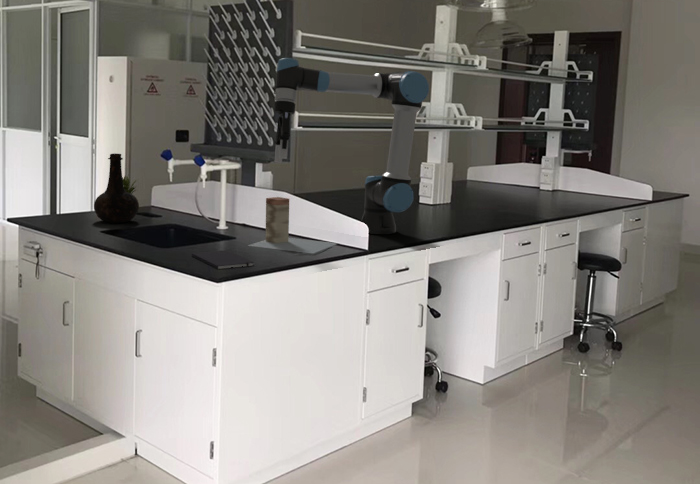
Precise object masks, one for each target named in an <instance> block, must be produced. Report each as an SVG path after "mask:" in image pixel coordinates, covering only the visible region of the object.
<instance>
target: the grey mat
mask: <svg viewBox="0 0 700 484" xmlns="http://www.w3.org/2000/svg"><path fill="white" fill-rule="evenodd" d="M336 245H338V244H337V242H330V241H329V242H328V241H321V240H314V239H313V240H312V239H303V238H294V237H289V238H288V242H283V243H272V242H268V241H265V239H264V240H261V241H257V242H254V243H251V244H248V245H247V247H248V246H249V247H255V248H265V249H270V250H271V249H273V250H279V251H280V250H281V251H289V252H297V253H299V255H300V254H301V255H309V256H310V255H311V256H315V255H317V254H320V253H322V252H325V251H327V250H330V249H332V248H333V246H336Z"/></svg>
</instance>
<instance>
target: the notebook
mask: <svg viewBox="0 0 700 484" xmlns="http://www.w3.org/2000/svg"><path fill="white" fill-rule="evenodd" d="M191 257H192V258H195V259H196V260H198V261H201V262H203V263H204V264H207V265H209V266H211V267H212V268H215V269H217V270H221V269H222V270H223V269H230V268H231V267H233V268H241V267H242V266H243V267H250V266H251V267H252V266H254V261H252V260H250V259H248V258H246V257H243V256H241V255H238V254H236V253H234V252H232V251H229V250H218V251H217V250H216V251H215V250H214V251H204V252H202V251H201V252H194V253H193V252H192V253H191Z"/></svg>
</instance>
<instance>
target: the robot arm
mask: <svg viewBox="0 0 700 484" xmlns="http://www.w3.org/2000/svg"><path fill="white" fill-rule="evenodd" d="M299 65H300V64H299V61H298V60H297V59H295V58H292V57H283V58H280V59H278V61H277V67H276V80H275V91H274V92H273V95H274V100H275V101H274V103H273V104H274V105H273V106H274V107H273V112H274V113H275V114H278V115H279V117H277V126H276V127H277V128H276V134H275V141H274V143H275V151H274V152H275V153H274V163H276V164H282V163H283V160H284V159H285V160H288V151H289V150H288V149H289V140H290V128H291V127H290V126H291V125H290V124H291V123H290V122H291V121H290V120H291V118H290V117H291V115H295V112H296V101H297V92H298V91H309V92H321V93H326V92H327V93H340V94H353V95H355V94H357V95H369V96H372V97H373V98H375V99H384V100H389V101H391V107H392V108H393V110H394V113H393V121H392V126H391V133H390V134H391V135H390V141H389V149H388V150H389V151H388V156H387V164H386V171H385V172H384V173H382V175H368V176H366V178H365V182H364V206H363V207H364V209H363V210H364V211H363V214H362V217H361V220H360V222H364V223H365V224H367V225H368V227H369V230H370V234H371V235H393V234H395V233H396V232H397V226H396V223H395V218H394V214H393V213H401V212H405V211H406V210H407V209H409V208H410V207H411V205H412V204H413V202H414V198H415V197H414V191H413V189H412V187H411V185H412V183H411V182H412V178H411V177H410V175H409V171H410V170H409V169H410V165H411V163H410V162H411V155H412V148H413V141H414V133H415V128H416V121H417V113H418V112H419V111H420V110H422V106H423V105H422V104H423V101H425V100H426V99H427V97H428V95H429V92H430V86H429V81H428V80H427V78H426V77H425V76H424V75H423V74H422V73H420V72H417V71H414V70H408V71H395V72H386V73H385V72H384V73H380V72H378V73H374V74H373V75H371V74H360V73H359V74H358V73H347V72H346V73H345V72H333V71H323V70H319V69H314V68H307V67H306V68H305V67H302V66H299Z"/></svg>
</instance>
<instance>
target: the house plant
mask: <svg viewBox="0 0 700 484" xmlns="http://www.w3.org/2000/svg"><path fill="white" fill-rule="evenodd" d="M122 180H123V186H124V189H125V191H126V192H127V193H130V194H132V195H133V193H135V192H136V191H137V189H136V187H137V188H138V186H137V185H134V184H135V183H136V182H137V181H138V179H135V180H134V181H133V182H132V184H131V185H130V178H129V175H126V174H125V175H124V176H122Z"/></svg>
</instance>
